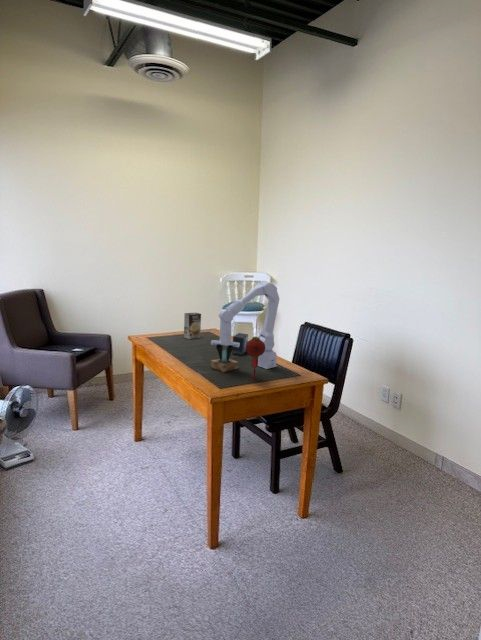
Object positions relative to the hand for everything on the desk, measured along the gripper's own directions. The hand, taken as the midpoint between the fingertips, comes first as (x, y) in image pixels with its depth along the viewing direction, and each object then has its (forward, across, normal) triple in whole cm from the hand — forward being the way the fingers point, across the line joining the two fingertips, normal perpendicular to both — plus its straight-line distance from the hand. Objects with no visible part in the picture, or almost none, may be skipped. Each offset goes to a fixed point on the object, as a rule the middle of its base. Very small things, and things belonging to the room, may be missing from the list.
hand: (224, 359), depth 216 cm
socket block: (+4, 0, 0) cm, 4 cm away
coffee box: (+5, +36, -56) cm, 67 cm away
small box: (+5, -1, -31) cm, 31 cm away
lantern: (+5, -18, +12) cm, 22 cm away
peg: (+2, 0, 0) cm, 2 cm away
